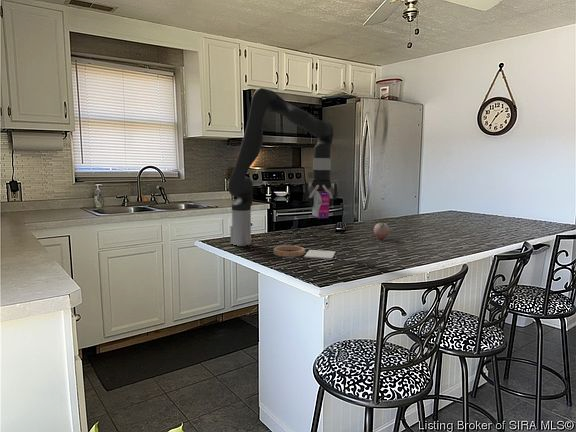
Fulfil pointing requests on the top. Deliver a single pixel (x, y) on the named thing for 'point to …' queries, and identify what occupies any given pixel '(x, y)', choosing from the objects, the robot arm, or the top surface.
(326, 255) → the rubber mat
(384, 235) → the decorative fruit
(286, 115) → the robot arm
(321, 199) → the supplement box
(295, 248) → the tan faceted ring
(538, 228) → the top surface
